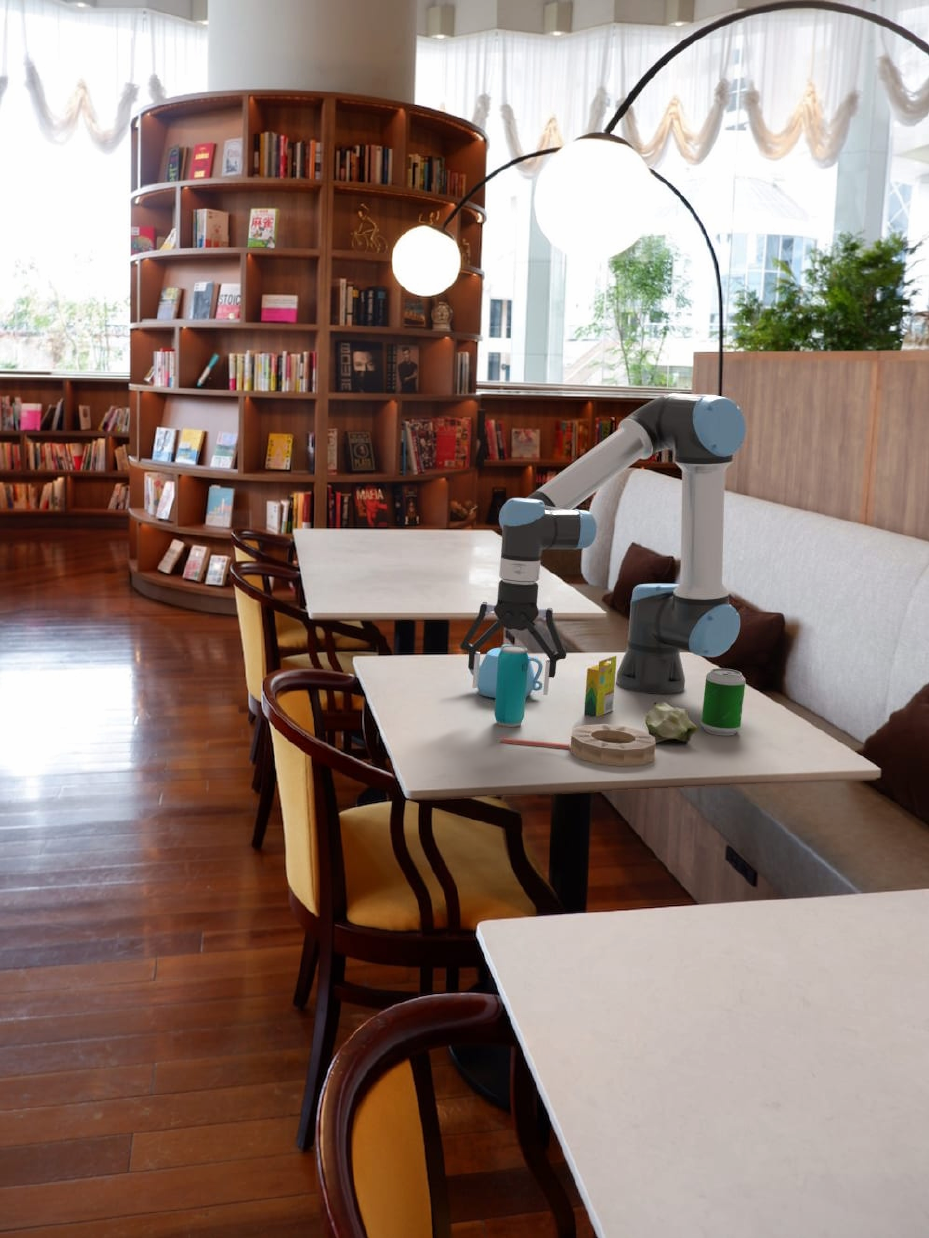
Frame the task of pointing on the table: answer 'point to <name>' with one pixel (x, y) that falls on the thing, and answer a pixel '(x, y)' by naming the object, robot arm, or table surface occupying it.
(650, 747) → the tan flat ring
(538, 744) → the stick
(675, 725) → the fruit
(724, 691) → the soda can
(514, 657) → the beverage can
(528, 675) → the teapot
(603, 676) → the crayon box
